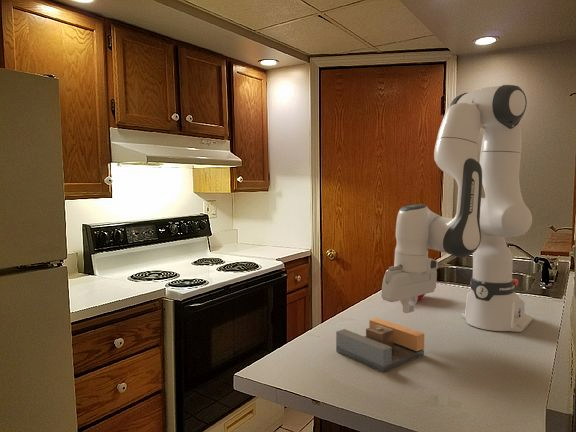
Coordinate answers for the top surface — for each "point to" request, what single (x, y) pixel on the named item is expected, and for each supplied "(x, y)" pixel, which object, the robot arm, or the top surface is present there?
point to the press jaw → (402, 334)
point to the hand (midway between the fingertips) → (408, 312)
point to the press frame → (373, 351)
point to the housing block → (381, 335)
